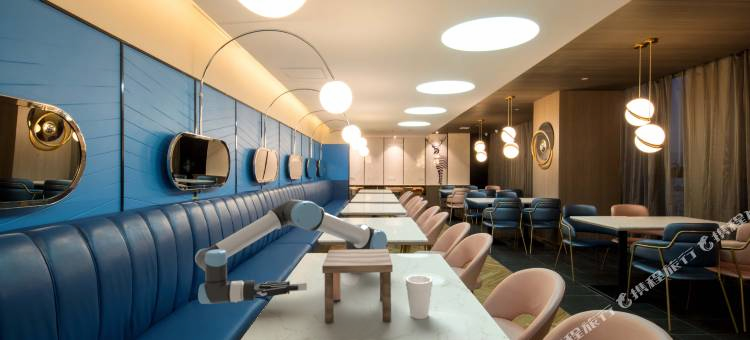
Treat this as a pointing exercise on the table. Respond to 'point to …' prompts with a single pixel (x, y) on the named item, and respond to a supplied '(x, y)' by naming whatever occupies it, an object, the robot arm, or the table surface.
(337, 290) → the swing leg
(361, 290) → the table surface
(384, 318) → the stool
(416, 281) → the foam cup
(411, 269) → the table surface
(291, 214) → the robot arm
